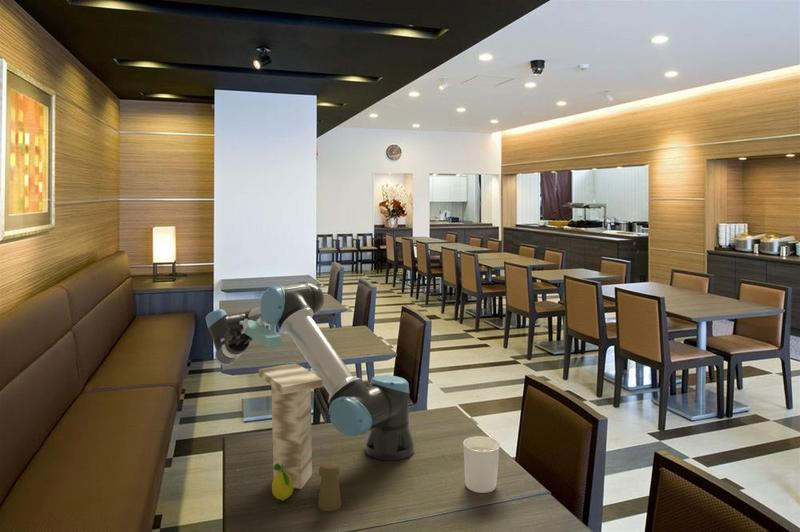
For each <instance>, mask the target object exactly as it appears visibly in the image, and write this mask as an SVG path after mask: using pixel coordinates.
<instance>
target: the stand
mask: <svg viewBox="0 0 800 532" xmlns="http://www.w3.org/2000/svg"><path fill="white" fill-rule="evenodd" d="M258 377H260V378H261V379H263V380H264V381H265V382H267V384H269V385H270V386H271V390H270V391H271V424H272V425H271V427H272V465H273V466H272V467H273V474H272V475H273V478H274V477H275V476H276V475H277V474H278V473H280V472H282V469H281V470H275V469H274V466H275V464H277V463H278V464H279V465H280V466H282V463H283V472H285V473H288V474H289V475H290V476H291V478H292V480H293V489H300V490H302V489H303V488H304V486H305V485H306V484H307V483H308V481H309V480H310V479H311V477H312V475H313V454H312V453H313V448H312V447H313V445H312V444H313V442H312V440H313V439H312V391H311V390H313V389H318V388H322V387H324V385H323V380H322V379H321V378H319V377H318V376H317V375H316V374H315V373H313V372H311V371H310V370H308V369H306V368H305V367H303V366H301V364H298V363H296V362H292V363H287V364H281V365H276V366H275V365H274V366H269V367H262V368H258Z"/></svg>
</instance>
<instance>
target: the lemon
mask: <svg viewBox="0 0 800 532" xmlns="http://www.w3.org/2000/svg"><path fill="white" fill-rule="evenodd" d="M274 469H275V470H281V469H282V472H280V473H278V474H277V475H276V476H275V477H274V476H273V480H272V483H271V492H272V495H273V496H274V498H276V499H278V500H280V501H282V502H284V501H285V500H287V499H288V498H290V497H291V495H292V494H293V491H294V488H293V480H292V478H291V476H290V475H289V474H288V473H285V472H283V463H282V466H280V465H279V464H278V463H277V464H275V466H274Z"/></svg>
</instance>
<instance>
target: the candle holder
mask: <svg viewBox="0 0 800 532" xmlns="http://www.w3.org/2000/svg"><path fill="white" fill-rule="evenodd" d="M462 443H463V444H462V445H463V459H464V460H463V464H464V482H465V483H464V484H465V487H466V489H468V490H470V491H472V492H473V493H474V492H475V493H477V494H487V493H491V492H493V491H494V490H496V488H497V482H498V481H497V480H498V470H499V458H500V457H499V456H500V448H501V445H500V442H499V441H498V440H497V439H494V437H493V438H492V437H489V436H484V435H475V436H470V437H467V438H465V439H464V440H463V442H462Z"/></svg>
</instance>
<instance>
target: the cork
mask: <svg viewBox="0 0 800 532" xmlns="http://www.w3.org/2000/svg"><path fill="white" fill-rule="evenodd" d="M318 473H319V476H320V477H321V478H320V485H319V494H318V502H317V507H318V509H320V510H321V511H324V512H333V511H334V512H335V511H337V510H339V509H340V508H341V506H342V497H341V490H340V485H339V477H338V476H339V475H340V465H339V464H338V463H337V462H336V461H332V460H331V461H325V462H322V463H321V464H320V465H319V468H318Z"/></svg>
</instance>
